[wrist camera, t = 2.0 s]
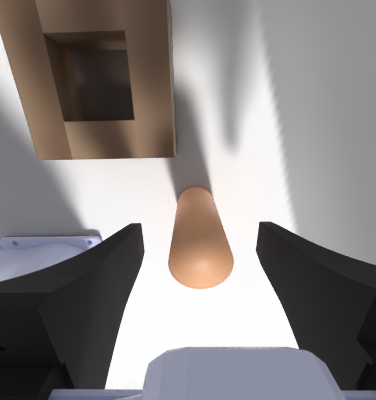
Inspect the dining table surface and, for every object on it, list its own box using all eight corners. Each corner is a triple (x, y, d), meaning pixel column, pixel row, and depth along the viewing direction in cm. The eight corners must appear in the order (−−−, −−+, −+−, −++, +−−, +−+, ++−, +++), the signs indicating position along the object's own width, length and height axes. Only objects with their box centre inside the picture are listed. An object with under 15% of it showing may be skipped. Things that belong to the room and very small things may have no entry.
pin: (178, 219, 17) (170, 289, 10) (177, 186, 16) (166, 236, 9) (213, 219, 17) (231, 288, 10) (214, 186, 16) (235, 235, 9)
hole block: (66, 154, 15) (38, 160, 12) (31, 11, 12) (-17, -24, 9) (176, 152, 15) (173, 157, 12) (170, 7, 12) (165, -31, 9)
